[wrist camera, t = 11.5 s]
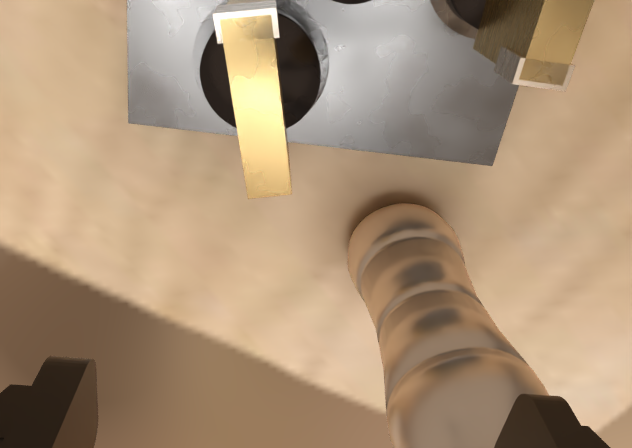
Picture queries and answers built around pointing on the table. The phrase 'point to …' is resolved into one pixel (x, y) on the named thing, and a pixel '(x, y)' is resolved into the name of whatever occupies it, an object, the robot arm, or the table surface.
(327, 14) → the plate
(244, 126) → the knob
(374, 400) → the table surface
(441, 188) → the table surface
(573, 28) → the knob
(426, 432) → the plastic bottle
